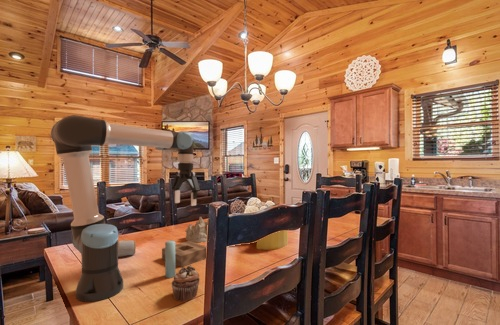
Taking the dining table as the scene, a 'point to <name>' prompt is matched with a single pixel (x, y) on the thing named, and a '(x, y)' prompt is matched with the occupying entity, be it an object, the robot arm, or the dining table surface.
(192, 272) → the cupcake
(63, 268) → the dining table surface
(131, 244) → the ceramic mug
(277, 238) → the cheese
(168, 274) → the peg
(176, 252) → the socket block
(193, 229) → the sand castle
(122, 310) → the dining table surface
